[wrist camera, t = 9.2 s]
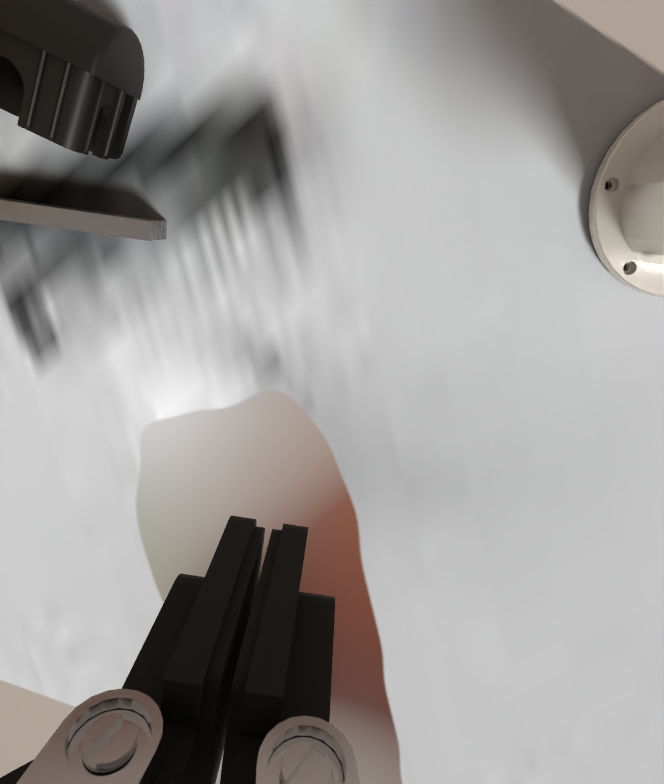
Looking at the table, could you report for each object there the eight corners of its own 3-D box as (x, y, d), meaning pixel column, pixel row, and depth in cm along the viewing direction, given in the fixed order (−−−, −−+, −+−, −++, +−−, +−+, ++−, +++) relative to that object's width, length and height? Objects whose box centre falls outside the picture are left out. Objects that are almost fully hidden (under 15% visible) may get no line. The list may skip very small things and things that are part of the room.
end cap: (160, 52, 31) (110, 9, 25) (127, 165, 33) (73, 153, 27) (3, -27, 30) (-92, -93, 24) (-20, 96, 32) (-112, 65, 26)
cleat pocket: (173, -94, 28) (153, -129, 26) (165, 238, 35) (149, 240, 32) (-36, -125, 28) (-79, -163, 26) (-6, 214, 34) (-38, 214, 32)
